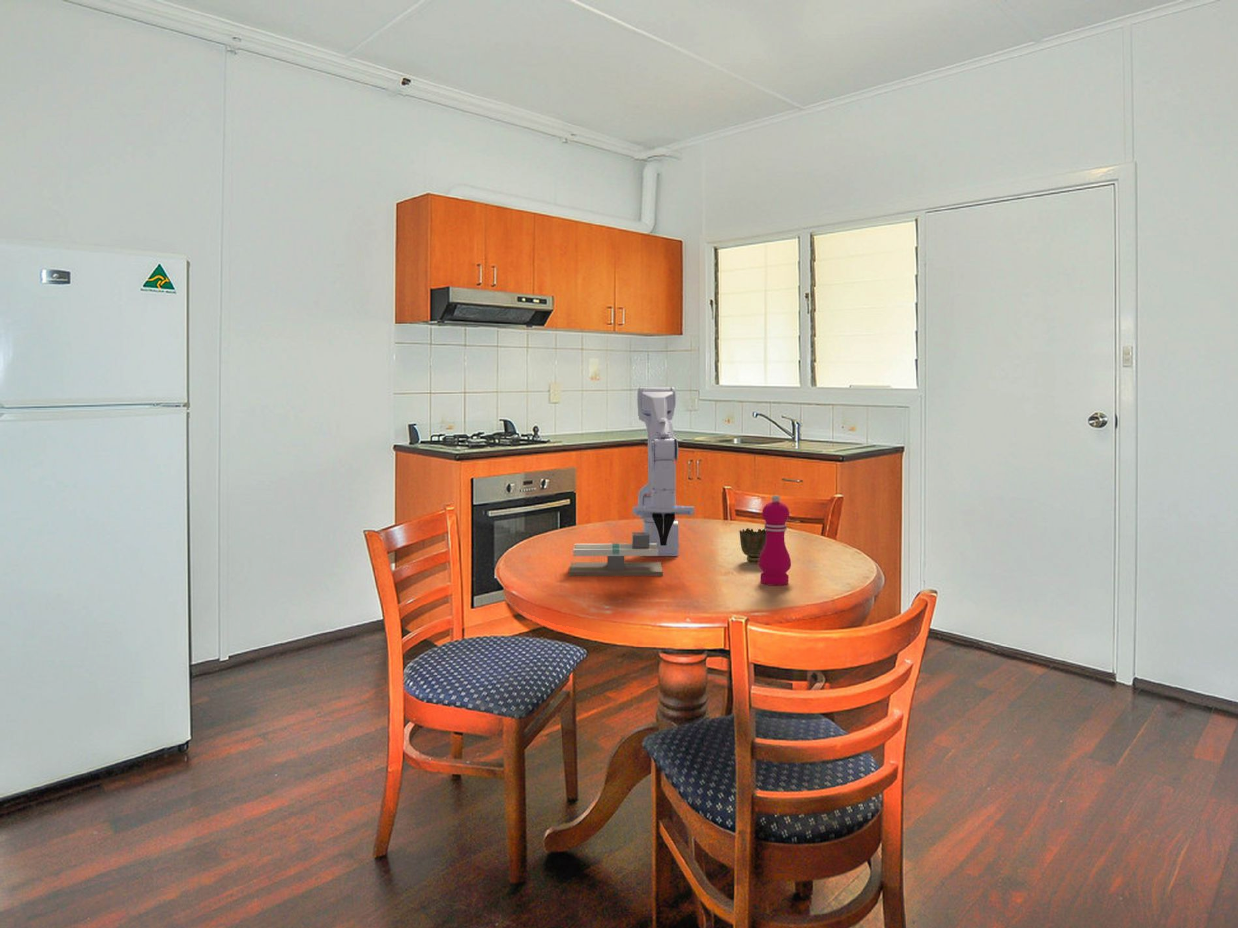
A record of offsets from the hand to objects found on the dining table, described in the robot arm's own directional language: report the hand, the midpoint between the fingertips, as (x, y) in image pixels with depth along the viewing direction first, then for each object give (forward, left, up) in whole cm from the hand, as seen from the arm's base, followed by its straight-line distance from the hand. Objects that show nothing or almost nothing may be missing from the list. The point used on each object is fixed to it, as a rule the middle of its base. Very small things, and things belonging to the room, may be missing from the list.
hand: (663, 544), depth 188 cm
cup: (-24, -9, -7) cm, 26 cm away
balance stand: (+11, 0, -6) cm, 13 cm away
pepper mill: (-25, +11, -7) cm, 28 cm away
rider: (+5, 0, -1) cm, 6 cm away
